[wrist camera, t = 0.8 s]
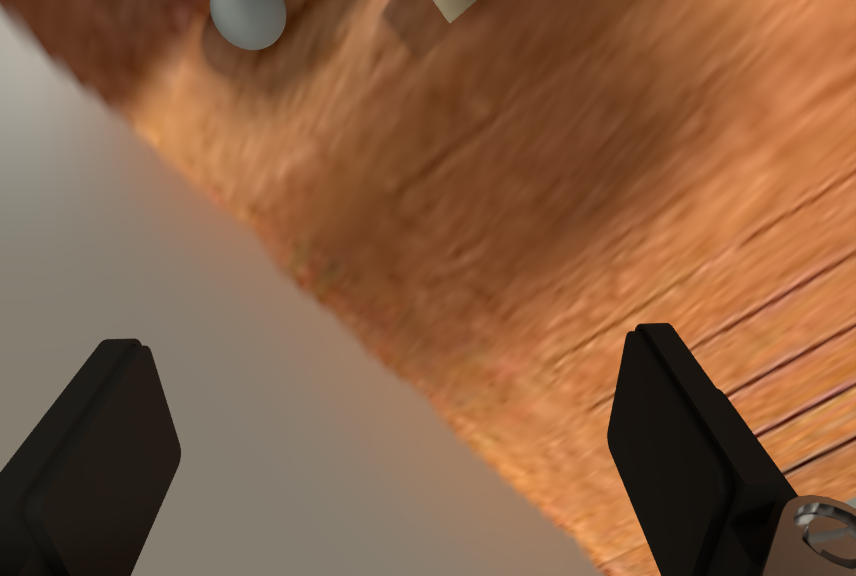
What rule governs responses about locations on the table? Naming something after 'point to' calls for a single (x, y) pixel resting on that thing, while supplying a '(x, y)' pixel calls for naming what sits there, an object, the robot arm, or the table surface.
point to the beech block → (453, 7)
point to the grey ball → (249, 21)
